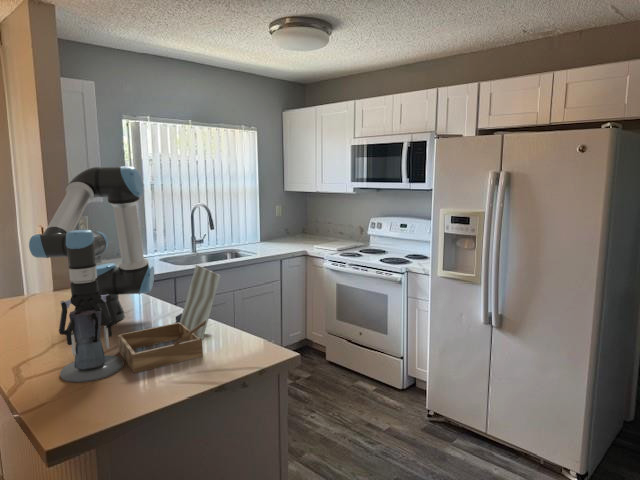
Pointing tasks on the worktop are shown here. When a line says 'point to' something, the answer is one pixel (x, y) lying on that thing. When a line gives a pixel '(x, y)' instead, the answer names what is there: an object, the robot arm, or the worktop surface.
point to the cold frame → (174, 329)
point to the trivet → (92, 370)
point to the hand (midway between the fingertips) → (91, 350)
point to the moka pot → (88, 339)
